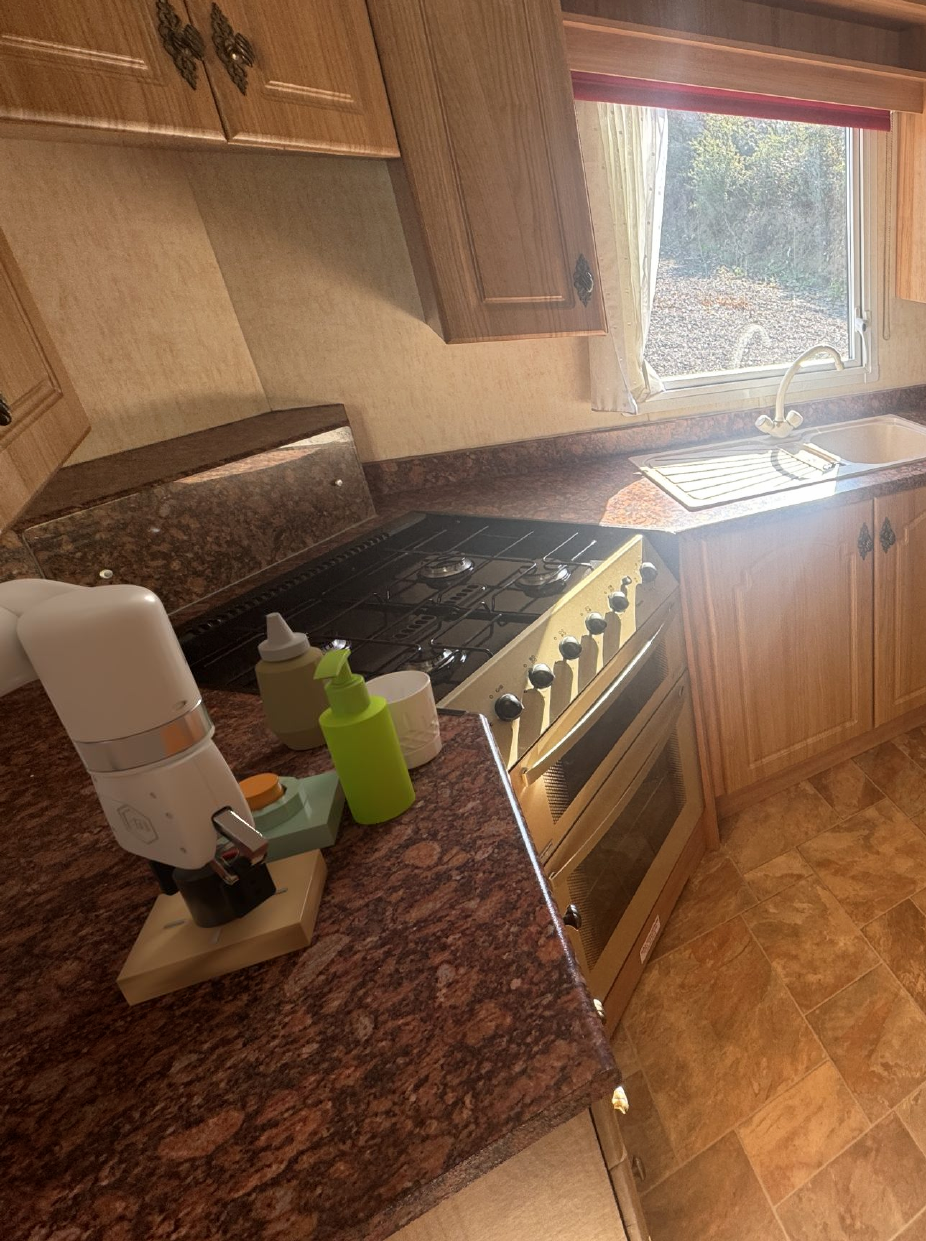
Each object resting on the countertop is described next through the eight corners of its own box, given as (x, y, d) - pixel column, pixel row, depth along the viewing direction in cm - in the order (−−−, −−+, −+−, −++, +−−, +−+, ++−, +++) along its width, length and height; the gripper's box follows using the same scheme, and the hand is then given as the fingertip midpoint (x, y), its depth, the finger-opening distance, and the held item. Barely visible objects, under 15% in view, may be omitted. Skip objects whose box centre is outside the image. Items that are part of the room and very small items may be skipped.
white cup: (431, 772, 88) (411, 703, 84) (360, 778, 87) (336, 708, 83) (458, 733, 95) (440, 668, 92) (393, 738, 94) (372, 672, 90)
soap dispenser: (344, 837, 78) (286, 679, 71) (360, 796, 84) (308, 646, 77) (408, 822, 80) (358, 667, 73) (419, 783, 86) (374, 636, 79)
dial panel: (129, 1006, 60) (114, 980, 59) (170, 918, 68) (158, 893, 67) (309, 945, 66) (299, 920, 65) (328, 870, 74) (319, 846, 73)
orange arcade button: (230, 819, 74) (223, 803, 73) (240, 795, 77) (234, 780, 77) (279, 806, 76) (273, 790, 75) (287, 783, 79) (282, 768, 78)
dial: (187, 935, 63) (162, 886, 61) (203, 899, 67) (180, 851, 65) (252, 915, 65) (230, 866, 63) (264, 881, 69) (244, 834, 67)
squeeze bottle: (364, 714, 99) (326, 596, 92) (341, 750, 92) (298, 625, 85) (293, 725, 96) (248, 604, 90) (264, 762, 89) (213, 634, 83)
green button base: (184, 888, 72) (165, 849, 70) (214, 824, 80) (198, 787, 78) (334, 844, 77) (320, 807, 75) (348, 789, 85) (336, 754, 83)
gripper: (13, 741, 58) (103, 904, 64) (167, 783, 53) (246, 953, 60) (130, 692, 64) (200, 844, 71) (275, 725, 60) (336, 883, 67)
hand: (221, 893), depth 65 cm, fingers open, 7 cm apart
